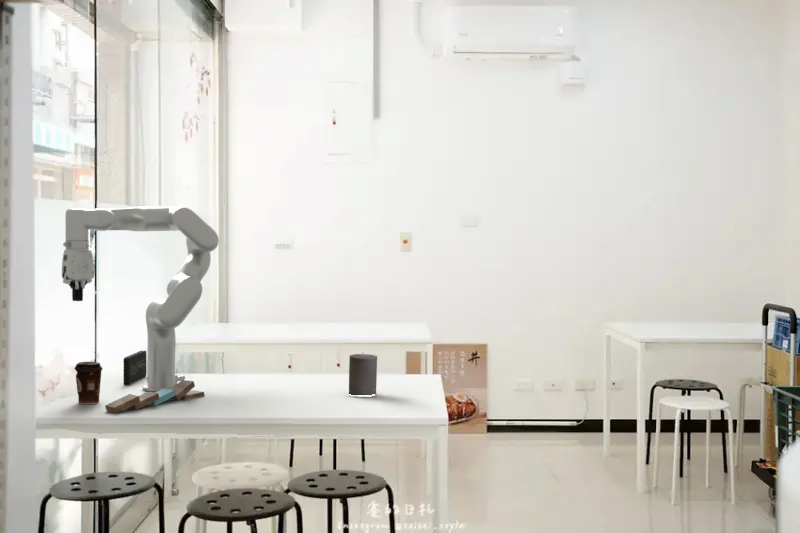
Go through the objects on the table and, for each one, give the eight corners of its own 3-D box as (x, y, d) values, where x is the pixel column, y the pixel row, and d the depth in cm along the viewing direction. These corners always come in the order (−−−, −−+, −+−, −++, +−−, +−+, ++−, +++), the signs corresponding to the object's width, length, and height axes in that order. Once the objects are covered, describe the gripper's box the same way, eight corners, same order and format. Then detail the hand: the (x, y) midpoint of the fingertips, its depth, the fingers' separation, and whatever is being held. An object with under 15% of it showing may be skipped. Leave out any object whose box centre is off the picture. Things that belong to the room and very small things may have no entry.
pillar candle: (343, 396, 306) (344, 352, 306) (357, 391, 315) (358, 349, 314) (367, 399, 302) (368, 355, 301) (381, 394, 310) (382, 351, 310)
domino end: (174, 400, 298) (193, 396, 306) (185, 401, 295) (204, 397, 303) (174, 394, 298) (193, 390, 306) (185, 395, 295) (204, 391, 303)
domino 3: (166, 399, 295) (183, 385, 302) (178, 400, 293) (195, 386, 300) (164, 394, 295) (182, 380, 302) (176, 395, 292) (193, 381, 299)
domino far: (106, 411, 275) (131, 399, 281) (115, 413, 272) (140, 401, 278) (104, 405, 274) (129, 393, 281) (114, 407, 271) (138, 396, 278)
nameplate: (141, 376, 342) (141, 350, 342) (146, 376, 342) (146, 350, 342) (123, 385, 321) (123, 358, 321) (128, 385, 321) (128, 358, 321)
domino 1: (126, 408, 281) (149, 397, 287) (136, 410, 278) (159, 399, 284) (125, 402, 280) (148, 391, 287) (134, 404, 277) (158, 393, 284)
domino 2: (143, 404, 287) (164, 394, 295) (155, 406, 285) (175, 395, 292) (142, 398, 287) (163, 388, 294) (154, 400, 284) (174, 389, 292)
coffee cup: (71, 405, 283) (71, 364, 283) (76, 400, 291) (76, 361, 291) (100, 404, 285) (100, 364, 284) (104, 400, 293) (104, 360, 292)
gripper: (66, 246, 288) (66, 302, 289) (103, 245, 301) (103, 300, 302) (51, 245, 292) (51, 301, 293) (88, 245, 305) (88, 299, 306)
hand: (77, 300), depth 297 cm, fingers closed
